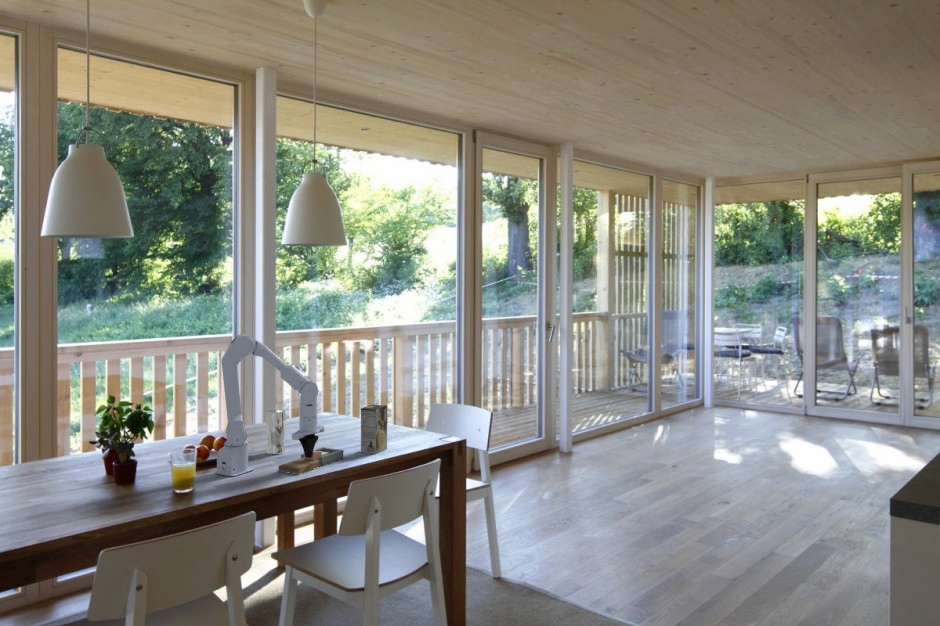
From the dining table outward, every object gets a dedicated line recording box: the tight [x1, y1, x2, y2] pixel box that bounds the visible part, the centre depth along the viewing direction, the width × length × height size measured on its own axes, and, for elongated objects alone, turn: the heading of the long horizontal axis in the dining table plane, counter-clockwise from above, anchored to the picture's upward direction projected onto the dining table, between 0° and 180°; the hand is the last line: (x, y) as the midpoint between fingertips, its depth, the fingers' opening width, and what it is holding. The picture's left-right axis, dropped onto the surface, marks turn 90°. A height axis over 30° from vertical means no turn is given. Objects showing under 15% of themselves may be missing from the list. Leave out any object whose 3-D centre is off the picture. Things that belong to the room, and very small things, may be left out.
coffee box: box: [360, 404, 388, 455], centre depth 266 cm, size 9×6×16 cm
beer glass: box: [265, 408, 287, 455], centre depth 261 cm, size 7×7×15 cm
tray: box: [300, 447, 344, 467], centre depth 251 cm, size 12×9×3 cm
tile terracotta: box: [303, 451, 322, 460], centre depth 245 cm, size 4×4×2 cm
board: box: [278, 457, 323, 475], centre depth 240 cm, size 12×8×2 cm, turn 155°
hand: (308, 457), depth 243 cm, fingers closed, pressing on tile terracotta
